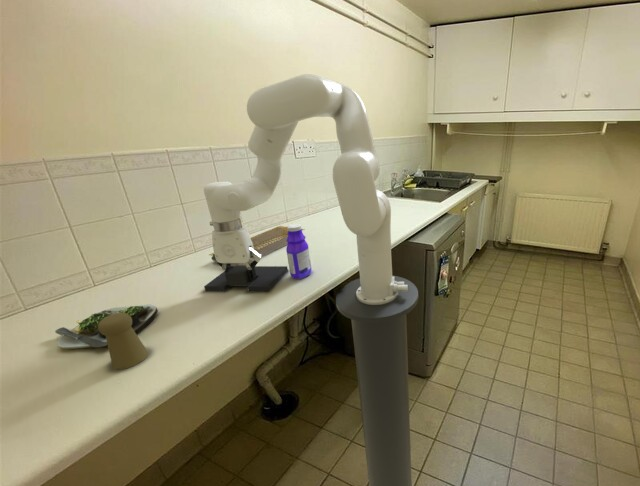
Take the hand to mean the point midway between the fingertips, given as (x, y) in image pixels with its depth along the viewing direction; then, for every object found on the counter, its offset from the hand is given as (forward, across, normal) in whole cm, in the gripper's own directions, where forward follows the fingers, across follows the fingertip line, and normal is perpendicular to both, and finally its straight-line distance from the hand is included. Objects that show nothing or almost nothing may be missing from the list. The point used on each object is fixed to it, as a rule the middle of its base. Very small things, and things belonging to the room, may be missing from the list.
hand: (242, 279), depth 97 cm
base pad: (+2, 0, +4) cm, 4 cm away
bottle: (+3, +16, +8) cm, 18 cm away
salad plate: (+2, -21, -22) cm, 31 cm away
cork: (+3, -7, -32) cm, 33 cm away
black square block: (+1, 0, 0) cm, 1 cm away
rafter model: (+3, -9, +30) cm, 32 cm away
